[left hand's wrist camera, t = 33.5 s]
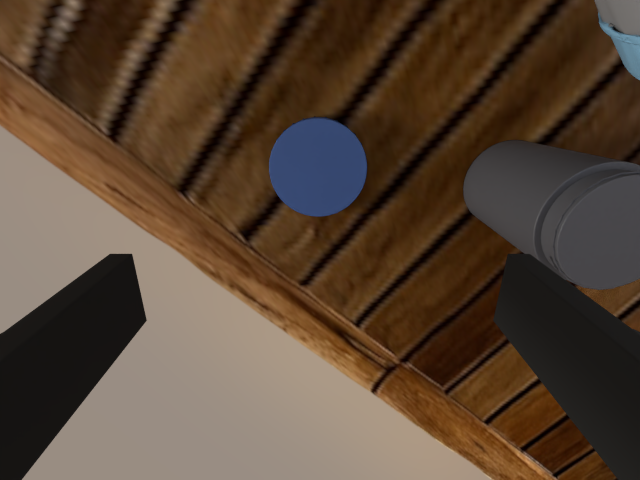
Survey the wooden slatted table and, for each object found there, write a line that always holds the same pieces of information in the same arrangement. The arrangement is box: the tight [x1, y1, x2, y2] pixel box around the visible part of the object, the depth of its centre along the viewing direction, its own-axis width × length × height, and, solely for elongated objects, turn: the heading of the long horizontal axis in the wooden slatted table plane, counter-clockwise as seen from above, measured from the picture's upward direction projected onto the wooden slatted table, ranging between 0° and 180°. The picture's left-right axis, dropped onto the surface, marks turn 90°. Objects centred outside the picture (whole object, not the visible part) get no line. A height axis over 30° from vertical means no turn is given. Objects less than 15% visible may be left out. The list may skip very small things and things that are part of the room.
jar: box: [463, 140, 640, 290], centre depth 30 cm, size 9×9×15 cm
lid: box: [269, 116, 367, 216], centre depth 36 cm, size 10×10×2 cm
